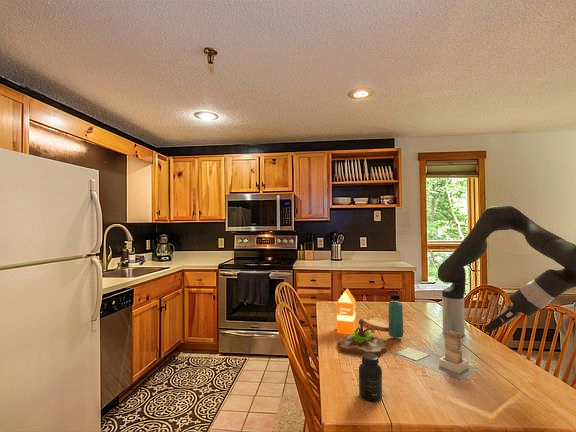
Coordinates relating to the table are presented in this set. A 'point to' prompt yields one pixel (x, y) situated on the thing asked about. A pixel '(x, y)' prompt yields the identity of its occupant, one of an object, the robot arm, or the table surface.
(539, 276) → the robot arm
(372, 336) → the plant
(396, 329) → the beverage bottle
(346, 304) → the orange juice
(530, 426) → the table surface
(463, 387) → the table surface
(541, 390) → the table surface
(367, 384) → the supplement bottle
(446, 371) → the board
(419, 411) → the table surface
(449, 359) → the wooden block tower
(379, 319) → the slice of bread
